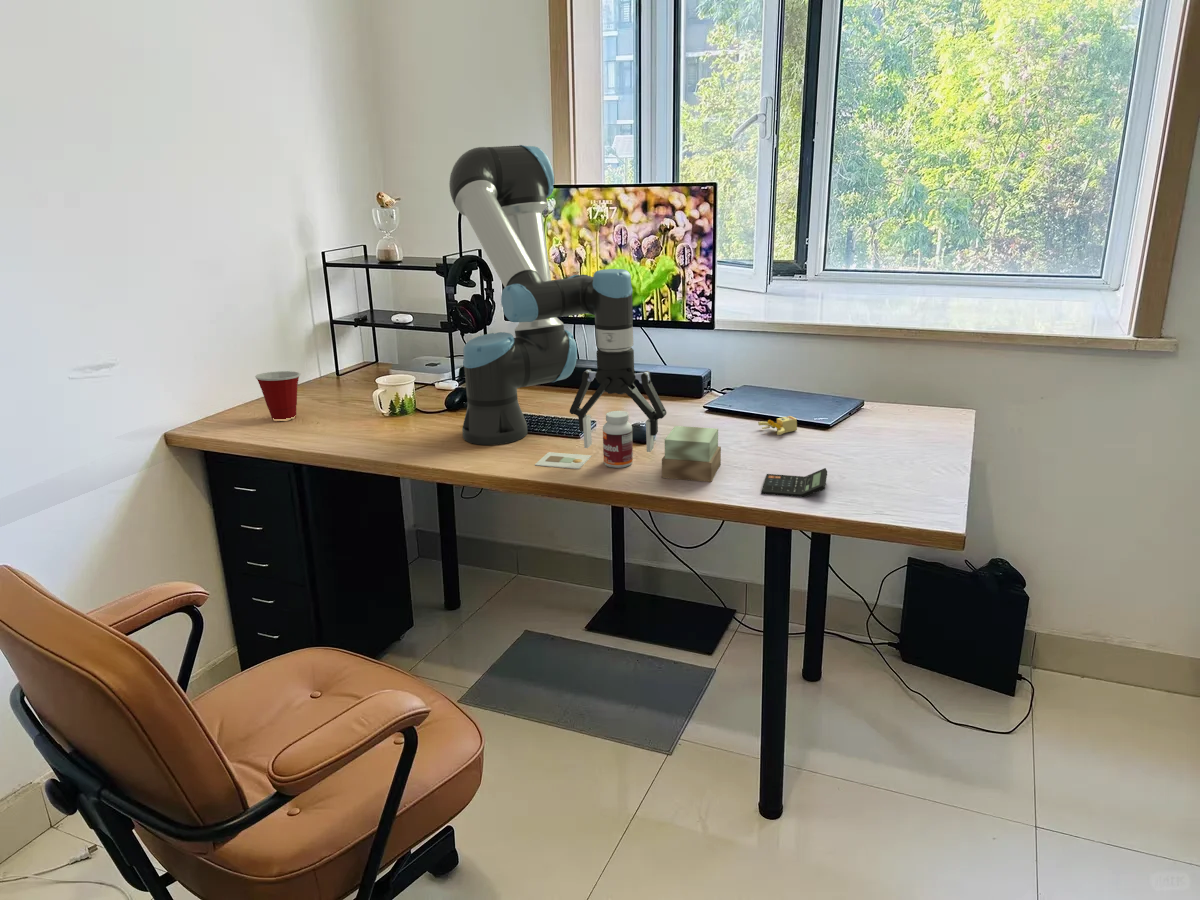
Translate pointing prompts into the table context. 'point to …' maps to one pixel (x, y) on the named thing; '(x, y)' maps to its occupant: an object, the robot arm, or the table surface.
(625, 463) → the pill bottle
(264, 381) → the plastic cup
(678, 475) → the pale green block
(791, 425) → the character toy
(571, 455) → the page
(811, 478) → the calculator
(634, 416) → the table surface
